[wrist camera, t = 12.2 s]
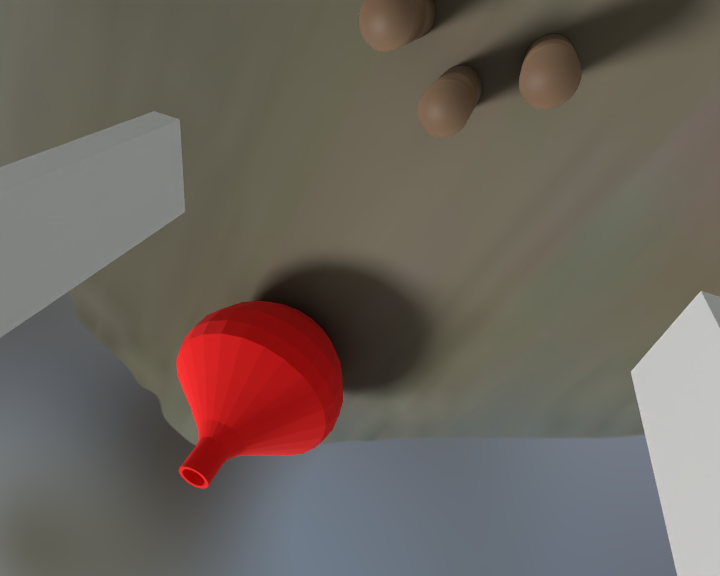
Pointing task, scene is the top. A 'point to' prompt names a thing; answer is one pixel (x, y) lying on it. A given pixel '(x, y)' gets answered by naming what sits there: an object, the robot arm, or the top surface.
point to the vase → (257, 385)
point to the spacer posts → (462, 83)
